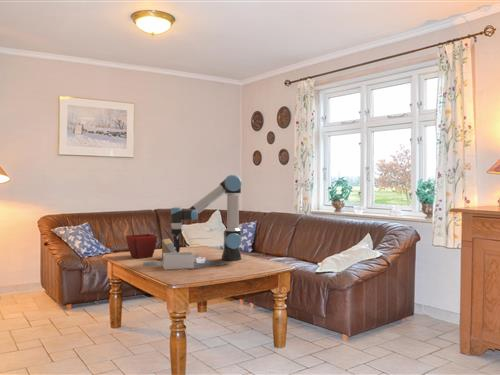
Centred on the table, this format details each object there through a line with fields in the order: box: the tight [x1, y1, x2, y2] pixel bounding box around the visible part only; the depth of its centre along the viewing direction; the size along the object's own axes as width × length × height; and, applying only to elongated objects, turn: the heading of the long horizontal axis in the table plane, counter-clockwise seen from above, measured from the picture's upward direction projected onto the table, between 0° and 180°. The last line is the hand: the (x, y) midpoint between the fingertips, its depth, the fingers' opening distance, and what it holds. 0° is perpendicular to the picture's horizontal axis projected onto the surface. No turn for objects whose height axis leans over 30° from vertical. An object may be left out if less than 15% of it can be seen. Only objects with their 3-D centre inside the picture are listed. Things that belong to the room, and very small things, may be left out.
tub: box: [162, 251, 195, 271], centre depth 308 cm, size 20×12×10 cm, turn 104°
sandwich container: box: [161, 238, 174, 260], centre depth 345 cm, size 9×15×15 cm, turn 54°
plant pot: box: [125, 233, 158, 259], centre depth 353 cm, size 19×19×17 cm
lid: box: [143, 260, 163, 266], centre depth 323 cm, size 27×13×6 cm, turn 104°
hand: (176, 257), depth 326 cm, fingers open, 13 cm apart
